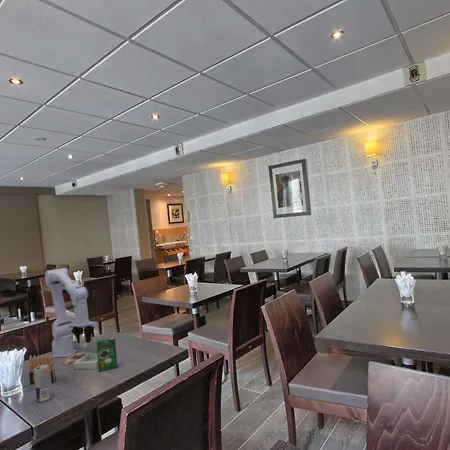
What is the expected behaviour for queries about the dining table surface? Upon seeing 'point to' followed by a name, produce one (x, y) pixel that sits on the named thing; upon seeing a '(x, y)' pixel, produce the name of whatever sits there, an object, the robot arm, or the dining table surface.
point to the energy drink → (43, 383)
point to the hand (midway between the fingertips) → (84, 342)
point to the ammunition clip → (39, 362)
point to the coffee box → (106, 354)
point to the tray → (87, 362)
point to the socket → (72, 358)
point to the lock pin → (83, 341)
